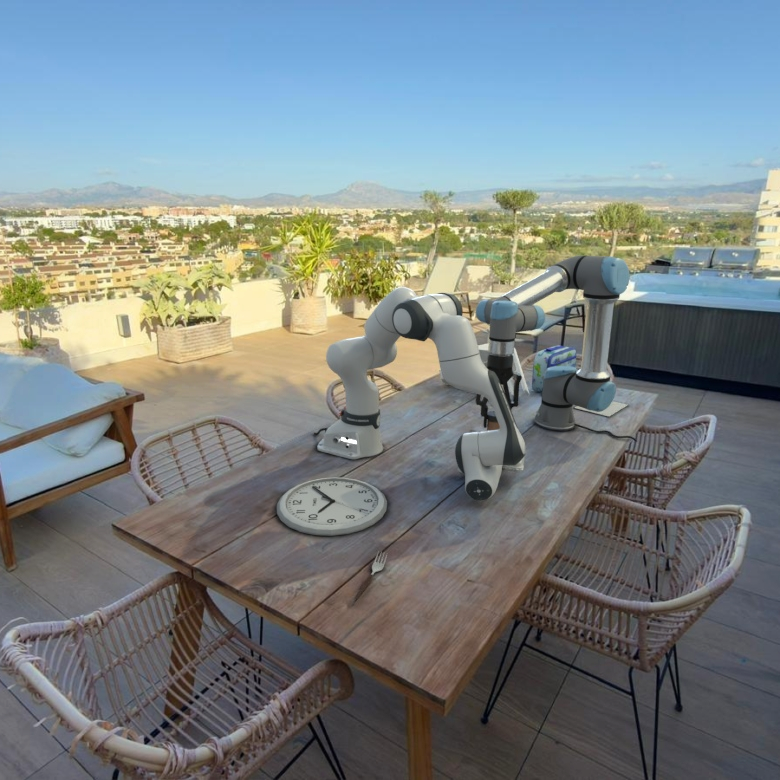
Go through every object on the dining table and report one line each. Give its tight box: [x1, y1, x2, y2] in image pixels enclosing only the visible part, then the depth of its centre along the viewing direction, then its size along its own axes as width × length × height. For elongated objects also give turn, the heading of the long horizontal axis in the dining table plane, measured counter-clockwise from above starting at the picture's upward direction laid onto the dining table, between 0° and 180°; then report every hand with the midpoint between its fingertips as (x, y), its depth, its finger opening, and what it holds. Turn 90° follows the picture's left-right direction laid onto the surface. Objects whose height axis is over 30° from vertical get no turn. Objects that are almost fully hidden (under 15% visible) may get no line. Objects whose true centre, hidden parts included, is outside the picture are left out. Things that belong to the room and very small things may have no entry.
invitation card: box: [573, 400, 629, 418], centre depth 226 cm, size 21×1×15 cm
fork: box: [354, 550, 388, 603], centre depth 112 cm, size 3×16×2 cm, turn 160°
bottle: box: [486, 419, 500, 431], centre depth 164 cm, size 5×5×18 cm
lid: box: [487, 410, 498, 422], centre depth 161 cm, size 5×5×2 cm
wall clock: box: [276, 476, 388, 537], centre depth 142 cm, size 30×2×30 cm
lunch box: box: [531, 345, 577, 393], centre depth 245 cm, size 26×11×21 cm, turn 134°
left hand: (493, 448), depth 165 cm, fingers closed on bottle, 4 cm apart
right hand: (494, 426), depth 162 cm, fingers closed on lid, 5 cm apart
